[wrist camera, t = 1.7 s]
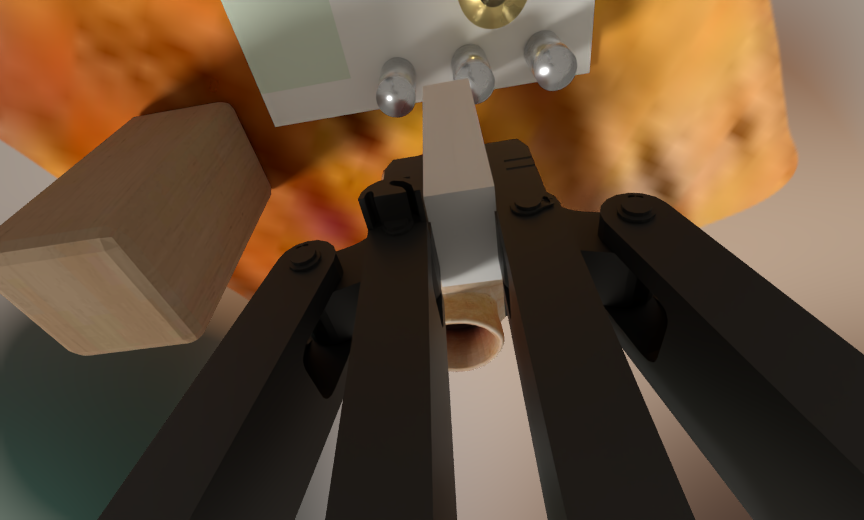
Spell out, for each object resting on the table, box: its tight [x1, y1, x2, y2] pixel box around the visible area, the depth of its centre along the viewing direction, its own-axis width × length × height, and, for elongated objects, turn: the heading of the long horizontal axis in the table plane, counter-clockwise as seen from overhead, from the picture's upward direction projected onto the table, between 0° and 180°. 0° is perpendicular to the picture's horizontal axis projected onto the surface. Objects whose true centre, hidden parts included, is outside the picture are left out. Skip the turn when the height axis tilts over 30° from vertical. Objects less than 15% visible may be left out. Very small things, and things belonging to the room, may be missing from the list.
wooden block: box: [0, 102, 271, 356], centre depth 34 cm, size 10×10×20 cm
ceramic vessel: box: [381, 154, 506, 372], centre depth 42 cm, size 14×26×15 cm, turn 12°
